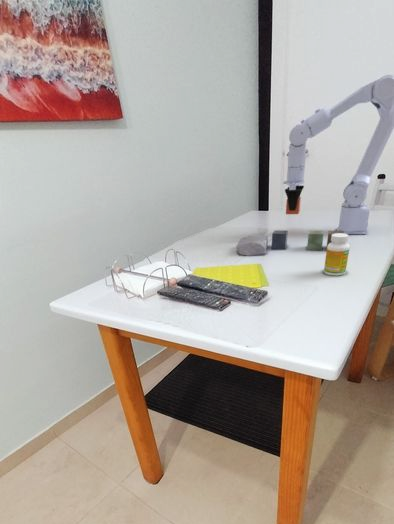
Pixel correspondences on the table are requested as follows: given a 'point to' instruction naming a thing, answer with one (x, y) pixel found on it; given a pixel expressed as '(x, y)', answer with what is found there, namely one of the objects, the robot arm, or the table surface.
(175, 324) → the table surface
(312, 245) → the block row
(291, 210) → the terracotta block
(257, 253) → the stone block
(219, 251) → the table surface
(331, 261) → the supplement bottle
